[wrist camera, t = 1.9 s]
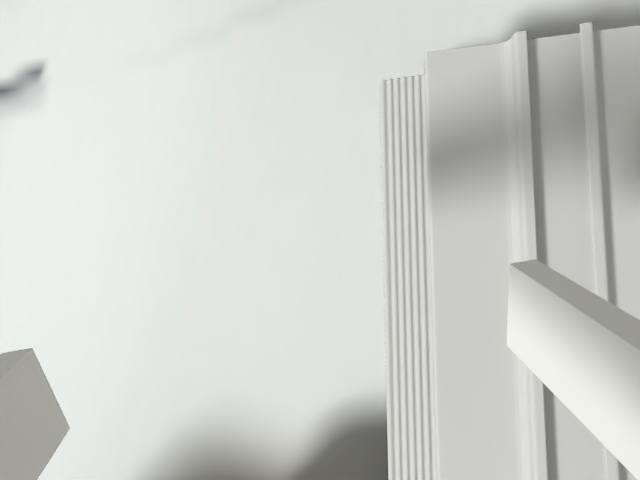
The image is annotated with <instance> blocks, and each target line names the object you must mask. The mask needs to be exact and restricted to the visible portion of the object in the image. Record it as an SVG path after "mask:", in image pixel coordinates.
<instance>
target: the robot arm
mask: <svg viewBox="0 0 640 480" xmlns="http://www.w3.org/2000/svg"><path fill="white" fill-rule="evenodd" d="M507 346H508V347H509V348H510V349H511V350H512V351H513V352H514V353H515V354H516V355H517V356H518V357H519V359H520V360H521V361H522V362H523V363H524V364H525V365H526V366H527V367H528V368H529V369H530V370H531V371H532V372H533V373H534V374H535V375H536V376H537V377H538V378H539V379H540V380H541V381H542V382H543V383H544V384H545V385H546V386H547V387H548V388H549V389H550V390H551V391H552V392H553V393H554V394H555V395H556V397H557V398H558V399H559V400H560V401H561V402H562V403H563V404H564V405H565V406H566V407H567V408H568V409H569V410H570V411H571V412H572V413H573V414H574V415H575V416H576V417H577V418H578V419H579V420H580V421H581V422H582V423H583V424H584V425H585V426H586V427H587V428H588V429H589V430H590V431H591V432H592V433H593V435H594V436H595V437H596V438H597V439H598V440H599V441H600V442H601V443H602V444H603V445H604V446H605V447H606V448H607V449H608V450H609V451H610V452H611V453H612V454H613V455H614V456H615V457H616V458H617V459H618V460H619V461H620V462H621V463H622V464H623V465H624V466H625V467H626V468H627V469H628V470H629V471H630V473H631V474H632V475H633V476H634V477H635V478H636V479H637V480H640V320H639V319H637V318H635V317H633V316H632V315H630V314H628V313H627V312H625V311H623V310H621V309H620V308H618V307H616V306H615V305H613V304H611V303H609V302H608V301H606V300H604V299H603V298H601V297H599V296H597V295H596V294H594V293H592V292H591V291H589V290H587V289H585V288H584V287H582V286H580V285H579V284H577V283H575V282H573V281H572V280H570V279H568V278H567V277H565V276H563V275H562V274H560V273H558V272H556V271H555V270H553V269H551V268H550V267H548V266H546V265H544V264H543V263H541V262H539V261H538V260H536V259H534V260H528V261H523V262H517V263H511V264H510V268H509V294H508V320H507ZM69 429H70V427H69V425H68V423H67V421H66V419H65V417H64V415H63V412H62V410H61V408H60V406H59V404H58V402H57V400H56V398H55V395H54V393H53V391H52V389H51V387H50V385H49V383H48V381H47V378H46V376H45V374H44V372H43V370H42V368H41V366H40V364H39V361H38V359H37V357H36V355H35V353H34V351H33V349H32V348H30V349H24V350H18V351H13V352H7V353H2V354H1V355H0V480H37V479H38V477H39V476H40V474H41V473H42V471H43V470H44V468H45V466H46V465H47V463H48V462H49V460H50V459H51V457H52V455H53V454H54V452H55V451H56V449H57V448H58V446H59V444H60V443H61V441H62V440H63V438H64V437H65V435H66V433H67V432H68V430H69Z"/></svg>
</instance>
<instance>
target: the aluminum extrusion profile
mask: <svg viewBox="0 0 640 480" xmlns="http://www.w3.org/2000/svg"><path fill="white" fill-rule="evenodd" d="M380 111H381V158H382V204H383V251H384V298H385V345H386V392H387V438H388V480H637V479H636V478H635V477H634V476H633V475H632V474H631V473H630V471H629V470H628V469H627V468H626V467H625V466H624V465H623V464H622V463H621V462H620V461H619V460H618V459H617V458H616V457H615V456H614V455H613V454H612V453H611V452H610V451H609V450H608V449H607V448H606V447H605V446H604V445H603V444H602V443H601V442H600V441H599V440H598V439H597V438H596V437H595V436H594V435H593V433H592V432H591V431H590V430H589V429H588V428H587V427H586V426H585V425H584V424H583V423H582V422H581V421H580V420H579V419H578V418H577V417H576V416H575V415H574V414H573V413H572V412H571V411H570V410H569V409H568V408H567V407H566V406H565V405H564V404H563V403H562V402H561V401H560V400H559V399H558V398H557V397H556V395H555V394H554V393H553V392H552V391H551V390H550V389H549V388H548V387H547V386H546V385H545V384H544V383H543V382H542V381H541V380H540V379H539V378H538V377H537V376H536V375H535V374H534V373H533V372H532V371H531V370H530V369H529V368H528V367H527V366H526V365H525V364H524V363H523V362H522V361H521V360H520V359H519V357H518V356H517V355H516V354H515V353H514V352H513V351H512V350H511V349H510V348H509V347H508V346H507V320H508V294H509V268H510V264H511V263H517V262H523V261H528V260H534V259H536V260H538V261H539V262H541V263H543V264H544V265H546V266H548V267H550V268H551V269H553V270H555V271H556V272H558V273H560V274H562V275H563V276H565V277H567V278H568V279H570V280H572V281H573V282H575V283H577V284H579V285H580V286H582V287H584V288H585V289H587V290H589V291H591V292H592V293H594V294H596V295H597V296H599V297H601V298H603V299H604V300H606V301H608V302H609V303H611V304H613V305H615V306H616V307H618V308H620V309H621V310H623V311H625V312H627V313H628V314H630V315H632V316H633V317H635V318H637V319H639V320H640V25H637V26H629V27H621V28H613V29H605V30H595V31H594V30H593V23H592V22H587V23H581V24H580V33H574V34H566V35H558V36H551V37H543V38H535V39H527V31H519V32H516V33H514V34H513V36H512V37H511V38H510V39H509V40H507V41H505V42H502V43H496V44H488V45H480V46H472V47H465V48H457V49H449V50H441V51H433V52H427V53H425V58H424V75H417V76H409V77H402V78H395V79H389V80H381V81H380Z"/></svg>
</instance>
